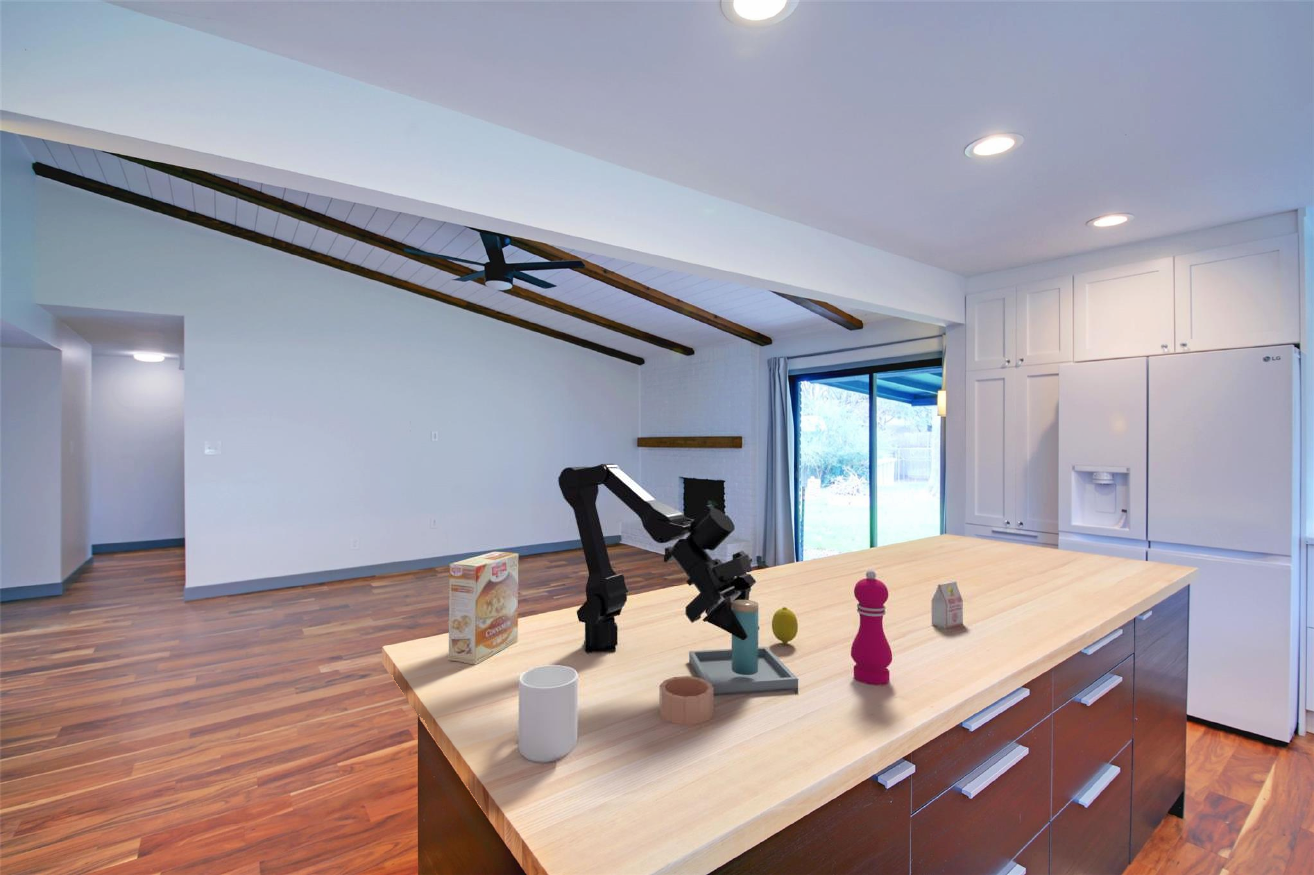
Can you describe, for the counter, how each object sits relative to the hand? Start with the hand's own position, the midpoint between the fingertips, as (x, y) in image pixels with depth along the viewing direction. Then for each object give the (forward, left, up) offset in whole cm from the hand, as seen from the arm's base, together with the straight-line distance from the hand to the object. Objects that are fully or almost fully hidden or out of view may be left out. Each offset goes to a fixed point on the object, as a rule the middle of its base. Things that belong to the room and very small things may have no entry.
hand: (751, 634), depth 103 cm
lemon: (+14, +20, -9) cm, 26 cm away
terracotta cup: (-14, -9, -9) cm, 19 cm away
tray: (-1, +4, -9) cm, 10 cm away
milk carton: (+58, +27, -9) cm, 65 cm away
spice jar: (-1, +1, -7) cm, 7 cm away
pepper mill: (+23, 0, -9) cm, 25 cm away
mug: (-36, -14, -9) cm, 40 cm away
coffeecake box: (-50, +26, -9) cm, 57 cm away
